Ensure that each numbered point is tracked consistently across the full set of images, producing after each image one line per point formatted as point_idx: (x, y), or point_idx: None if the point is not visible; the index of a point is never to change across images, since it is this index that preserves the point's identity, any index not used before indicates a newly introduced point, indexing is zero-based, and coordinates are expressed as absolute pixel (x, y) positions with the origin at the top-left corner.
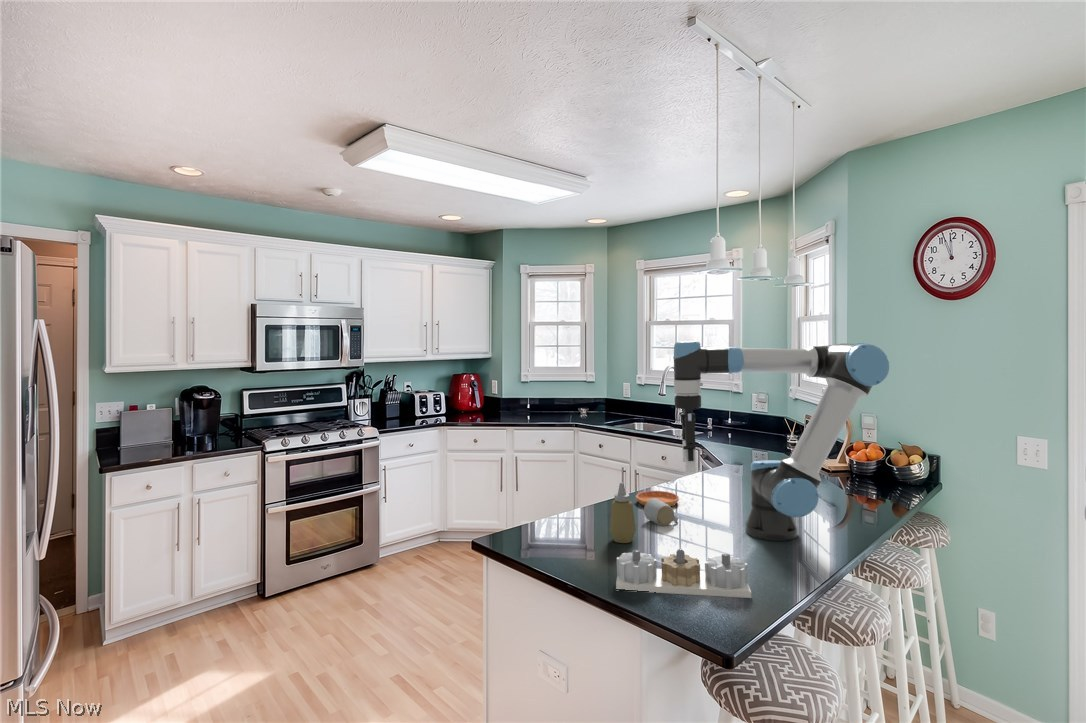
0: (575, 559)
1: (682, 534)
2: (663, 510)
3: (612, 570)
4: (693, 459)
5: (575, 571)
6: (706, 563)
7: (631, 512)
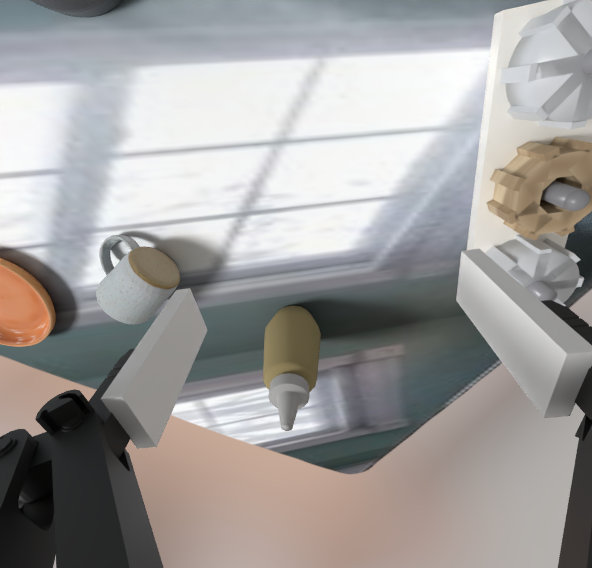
0: (405, 367)
1: (207, 211)
2: (161, 279)
3: (451, 310)
4: (565, 307)
5: (458, 357)
6: (585, 123)
7: (301, 347)
